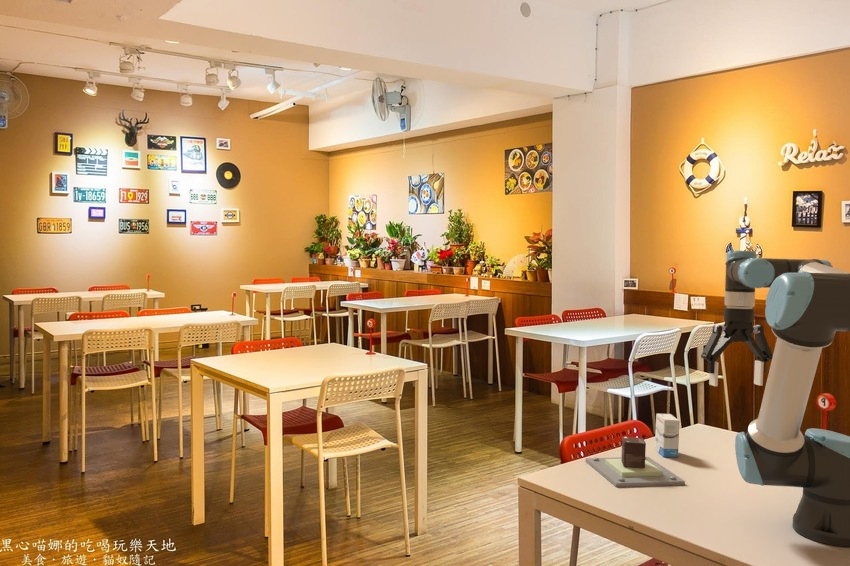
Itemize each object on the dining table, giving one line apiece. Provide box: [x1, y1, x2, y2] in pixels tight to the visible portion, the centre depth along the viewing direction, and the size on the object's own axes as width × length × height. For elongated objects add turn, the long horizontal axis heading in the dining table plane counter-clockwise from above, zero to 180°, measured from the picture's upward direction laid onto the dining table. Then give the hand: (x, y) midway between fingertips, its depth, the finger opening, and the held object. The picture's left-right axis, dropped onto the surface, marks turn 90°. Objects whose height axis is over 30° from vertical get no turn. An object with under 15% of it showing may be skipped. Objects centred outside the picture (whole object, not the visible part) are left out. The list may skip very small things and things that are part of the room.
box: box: [621, 436, 647, 468], centre depth 203 cm, size 6×6×7 cm
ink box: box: [654, 413, 680, 458], centre depth 222 cm, size 8×5×12 cm, turn 179°
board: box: [584, 456, 686, 488], centre depth 203 cm, size 22×20×2 cm
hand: (735, 385), depth 193 cm, fingers open, 13 cm apart
